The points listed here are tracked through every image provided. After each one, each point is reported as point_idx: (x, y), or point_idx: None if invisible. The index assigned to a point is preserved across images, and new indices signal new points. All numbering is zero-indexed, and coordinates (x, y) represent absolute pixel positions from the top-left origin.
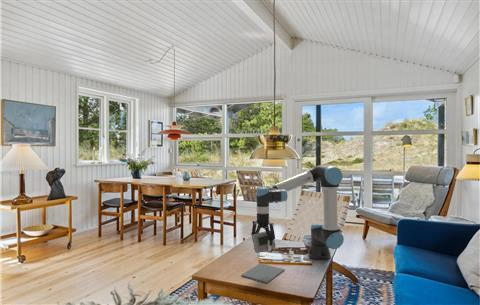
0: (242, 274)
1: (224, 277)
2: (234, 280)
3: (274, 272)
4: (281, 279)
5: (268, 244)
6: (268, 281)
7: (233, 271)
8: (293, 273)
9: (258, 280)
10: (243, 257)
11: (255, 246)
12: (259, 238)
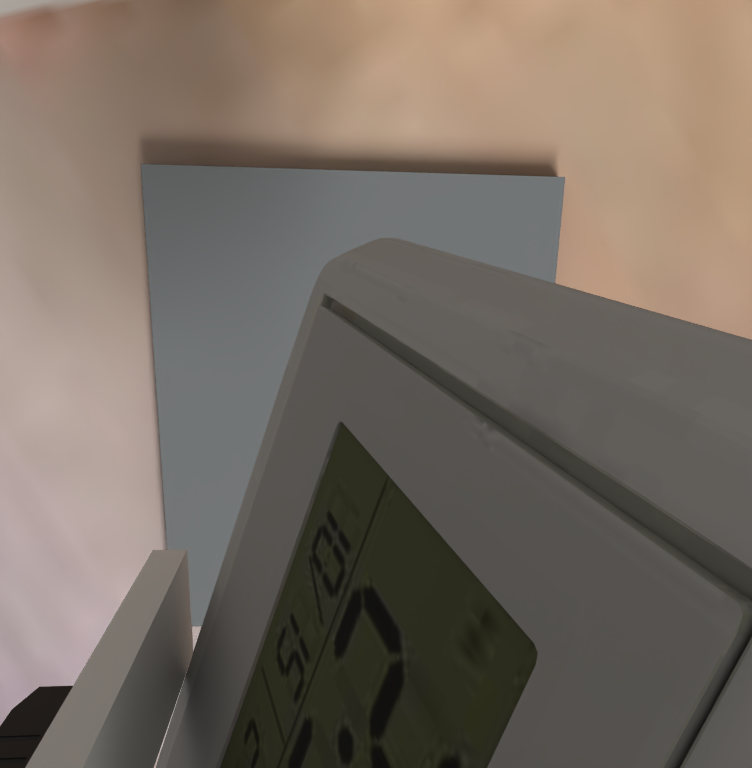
0: (556, 200)
1: (743, 13)
2: (574, 3)
3: (225, 481)
4: (64, 377)
5: (96, 683)
6: (145, 204)
7: (720, 256)
8: (43, 601)
9: (282, 169)
10: None
11: (437, 267)
12: (447, 720)
